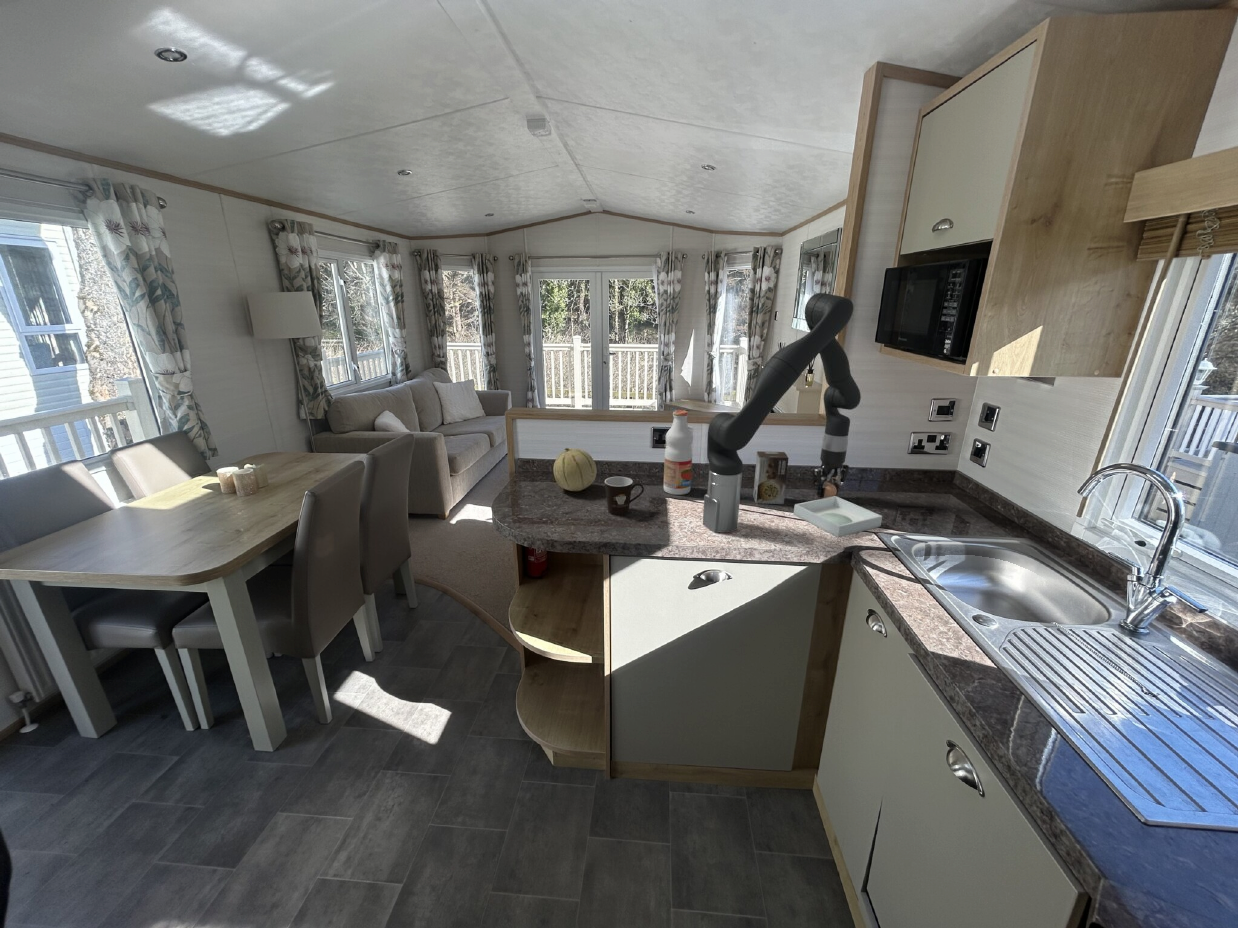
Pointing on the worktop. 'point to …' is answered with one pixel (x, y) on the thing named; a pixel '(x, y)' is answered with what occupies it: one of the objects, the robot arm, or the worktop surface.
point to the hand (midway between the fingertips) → (827, 495)
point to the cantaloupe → (574, 469)
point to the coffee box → (770, 477)
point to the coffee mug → (619, 494)
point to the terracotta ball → (830, 490)
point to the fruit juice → (678, 456)
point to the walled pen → (837, 516)
